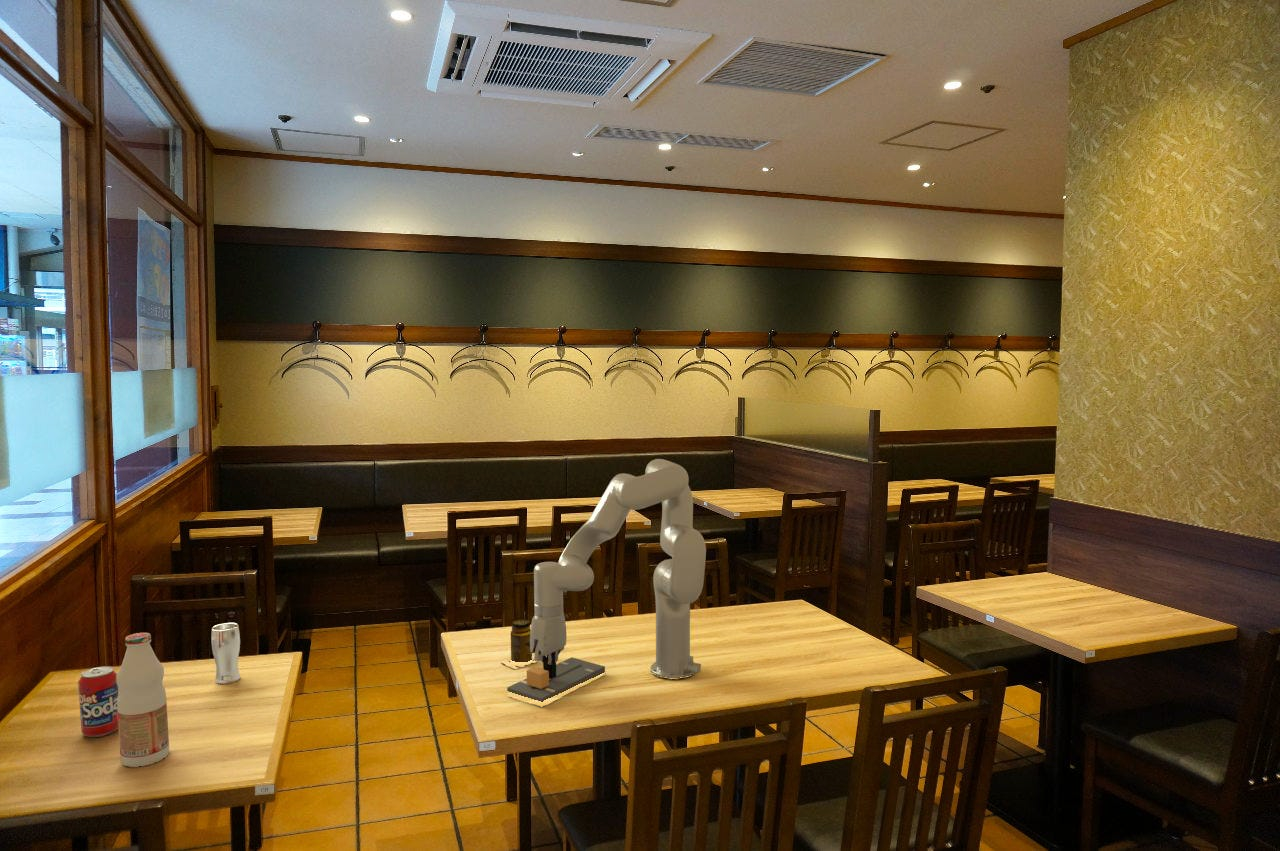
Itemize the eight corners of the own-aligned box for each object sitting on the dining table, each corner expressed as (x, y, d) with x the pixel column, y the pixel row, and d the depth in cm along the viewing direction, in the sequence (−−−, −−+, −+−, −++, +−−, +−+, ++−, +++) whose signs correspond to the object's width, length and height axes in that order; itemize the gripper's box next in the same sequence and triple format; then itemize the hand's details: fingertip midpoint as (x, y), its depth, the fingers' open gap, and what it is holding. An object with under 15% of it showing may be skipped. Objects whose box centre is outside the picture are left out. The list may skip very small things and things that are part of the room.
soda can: (113, 721, 206) (109, 662, 205) (126, 730, 201) (122, 670, 200) (76, 733, 200) (72, 672, 199) (88, 742, 195) (84, 680, 194)
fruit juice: (128, 773, 181) (120, 646, 178) (115, 758, 188) (106, 636, 185) (175, 757, 188) (168, 635, 185) (161, 743, 194) (154, 625, 192)
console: (571, 665, 241) (571, 656, 240) (604, 675, 234) (604, 665, 234) (507, 696, 220) (507, 686, 219) (541, 708, 213) (541, 697, 212)
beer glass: (230, 685, 227) (227, 631, 226) (207, 683, 229) (204, 630, 227) (247, 675, 234) (244, 623, 233) (225, 673, 236) (222, 621, 234)
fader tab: (534, 680, 223) (534, 666, 222) (548, 685, 220) (548, 671, 220) (526, 684, 220) (526, 670, 220) (541, 688, 217) (540, 674, 217)
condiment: (538, 662, 243) (537, 622, 242) (514, 670, 238) (513, 629, 236) (523, 655, 249) (522, 616, 248) (499, 663, 243) (498, 623, 242)
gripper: (556, 600, 230) (557, 665, 232) (518, 614, 218) (520, 682, 220) (577, 604, 226) (578, 670, 228) (540, 619, 214) (541, 689, 216)
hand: (549, 676), depth 224 cm, fingers closed
